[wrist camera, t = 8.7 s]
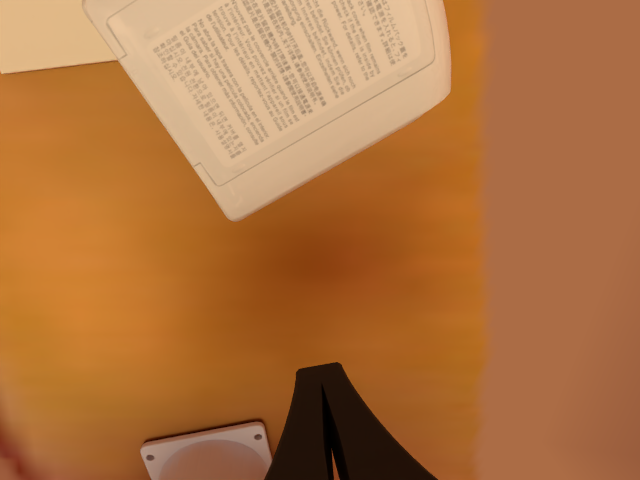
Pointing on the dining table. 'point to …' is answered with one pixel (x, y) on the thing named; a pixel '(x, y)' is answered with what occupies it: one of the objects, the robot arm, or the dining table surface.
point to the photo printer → (278, 82)
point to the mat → (48, 36)
